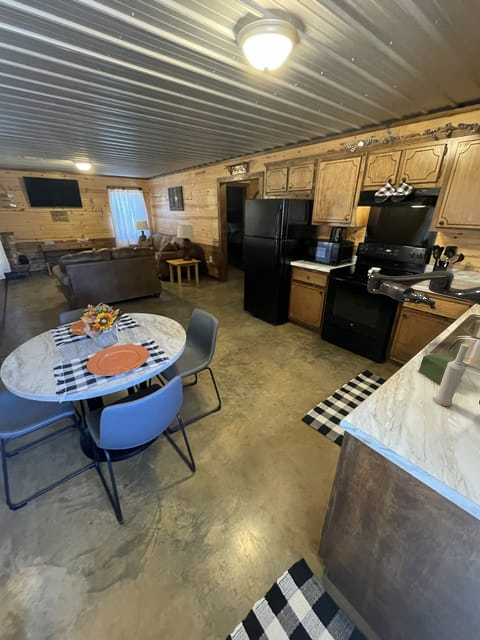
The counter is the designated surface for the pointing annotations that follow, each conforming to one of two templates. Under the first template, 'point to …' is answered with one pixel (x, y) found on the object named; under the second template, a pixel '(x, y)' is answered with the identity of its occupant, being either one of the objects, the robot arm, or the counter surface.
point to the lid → (441, 359)
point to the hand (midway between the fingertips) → (433, 304)
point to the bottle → (451, 378)
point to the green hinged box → (431, 371)
